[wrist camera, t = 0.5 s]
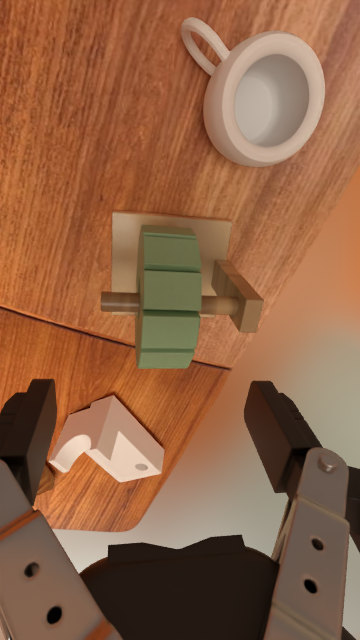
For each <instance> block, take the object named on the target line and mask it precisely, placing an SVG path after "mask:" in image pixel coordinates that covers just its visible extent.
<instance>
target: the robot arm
mask: <svg viewBox="0 0 360 640" xmlns="http://www.w3.org/2000/svg"><path fill="white" fill-rule="evenodd" d="M56 419H57V405H56V392H55V381H54V379H33V380H32V381H31V383H30V386H29V388H28V390H27V393H15V394H14V395H13V396H12V397H11V398H10V399H9V400H8V401H7V402H6V403H5V405H4V407H3V409H2V411H1V413H0V627H1V629H2V632H3V635H4V638H5V640H356V639H355V638H354V637H353V636H352V635H351V634H350V633H349V632H348V631H347V630H346V629H345V628H344V627H343V626H342V621H343V608H344V596H345V583H346V570H347V558H348V545H349V533H350V535H351V537H352V539H353V541H354V543H355V545H356V546H357V548H358V550H359V552H360V469H357V468H353V467H349V466H347V465H346V463H345V461H344V460H343V459H342V458H341V457H340V456H339V455H337V454H336V453H334V452H333V451H331V450H328V449H326V448H323V447H322V445H321V444H320V442H319V441H318V439H317V438H316V436H315V435H314V433H313V432H312V430H311V429H310V427H309V425H308V424H307V422H306V421H305V420H304V418H303V416H302V415H301V413H300V412H299V410H298V408H297V407H296V405H295V404H294V402H293V401H292V400H291V399H290V398H288V397H287V396H286V395H285V394H284V393H278V391H277V390H276V388H275V386H274V385H273V383H272V382H271V381H252V383H251V385H250V389H249V393H248V397H247V400H246V404H245V408H244V419H245V423H246V425H247V428H248V430H249V433H250V435H251V437H252V440H253V442H254V444H255V447H256V449H257V452H258V454H259V456H260V459H261V461H262V463H263V466H264V468H265V471H266V473H267V475H268V478H269V480H270V482H271V484H272V487H273V489H274V492H275V493H284V492H285V493H287V495H288V498H289V499H288V502H287V505H286V508H285V512H284V515H283V518H282V522H281V526H280V529H279V533H278V536H277V540H276V543H275V547H274V550H273V553H272V556H271V558H270V557H269V556H267V555H265V554H264V553H262V552H260V551H258V550H255V549H253V548H250V547H246V546H245V545H244V541H243V538H242V535H231V536H220V537H219V536H218V537H210V538H207V539H205V540H202V541H200V542H197V543H194V544H192V545H190V546H187V547H184V548H182V549H173V548H167V547H162V546H157V545H153V544H148V543H130V544H118V545H108V557H106V558H103V559H101V560H99V561H97V562H95V563H93V564H91V565H90V566H89V567H87V568H86V569H84V570H83V571H82V572H81V573H79V574H78V572H77V571H76V569H75V567H74V565H73V564H72V562H71V561H70V559H69V557H68V555H67V554H66V552H65V551H64V549H63V547H62V545H61V544H60V542H59V541H58V539H57V537H56V536H55V534H54V532H53V531H52V529H51V527H50V526H49V524H48V522H47V521H46V519H45V517H44V516H43V514H42V513H41V512H40V511H39V510H36V511H35V510H34V509H33V508H32V506H34V502H35V498H36V495H37V491H38V487H39V484H40V480H41V476H42V473H43V469H44V465H45V462H46V458H47V454H48V451H49V447H50V443H51V440H52V436H53V433H54V429H55V425H56Z"/></svg>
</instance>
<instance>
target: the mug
mask: <svg viewBox="0 0 360 640" xmlns="http://www.w3.org/2000/svg"><path fill="white" fill-rule="evenodd" d="M190 31H193V32H196V33H198V34H199V35H201V36H202V37H203V38H204V39H205V40H206V41H207V42H208V43H209V44H210V45H211V47H212V48H213V49H214V51H215V52H216V54H217V55H218V56H219V58H220V59H221V62H220V63H219V64H218V66H217V67H215V66H214V65H213V64H212V63H211V62H210V61H209V60H208V59H207V58H206V57H205V56H204V55H203V54H202V52H201V51H200V50H199V49H198V47H197V46H196V44H195V43H194V41H193V39H192V37H191V32H190ZM181 36H182V39H183V42H184V44H185V46H186V48H187V50H188V51H189V53H190V54H191V56H192V57H193V58H194V59H195V61H196V62H197V63H198V64H199V65H200V66H201V67H202V68H203V69H204V70H205V71H206V72H207V73H208V74H209V75H210V76H211V78H210V81H209V83H208V86H207V89H206V93H205V98H204V105H203V116H204V123H205V128H206V131H207V134H208V136H209V139H210V140H211V142H212V144H213V145H214V147H215V148H216V149H217V151H218V152H219V153H220V154H222V155H223V156H224V157H225V158H227V159H228V160H230V161H232V162H234V163H236V164H239V165H242V166H247V167H266V166H271V165H274V164H277V163H280V162H282V161H284V160H286V159H288V158H290V157H291V156H292V155H294V154H295V153H296V152H297V151H298V150H299V149H300V148H301V147H302V146H303V145H304V144H305V143H306V142H307V140H308V139H309V138H310V136H311V134H312V133H313V131H314V129H315V128H316V126H317V123H318V121H319V119H320V116H321V112H322V109H323V104H324V97H325V82H324V75H323V70H322V67H321V65H320V62H319V60H318V58H317V56H316V54H315V53H314V51H313V50H312V49H311V48H310V46H309V45H308V44H307V43H305V42H304V41H303V40H302V39H301V38H299V37H297V36H295V35H294V34H292V33H288V32H285V31H268V32H263V33H260V34H257V35H254V36H251V37H249V38H247V39H246V40H244V41H242V42H241V43H239V44H238V45H236V46H235V47H234V48H233V49H232V50H231V51H228V49H227V48H226V47H225V45H224V44H223V42H222V41H221V39H220V38H219V37H218V35H217V34H216V33H215V32H214V31H213V30H212V29H211V28H210V27H209V26H208V25H207V24H205V23H204V22H202V21H201V20H199V19H197V18H194V17H191V18H188V19H186V20H184V21H183V23H182V26H181Z"/></svg>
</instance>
